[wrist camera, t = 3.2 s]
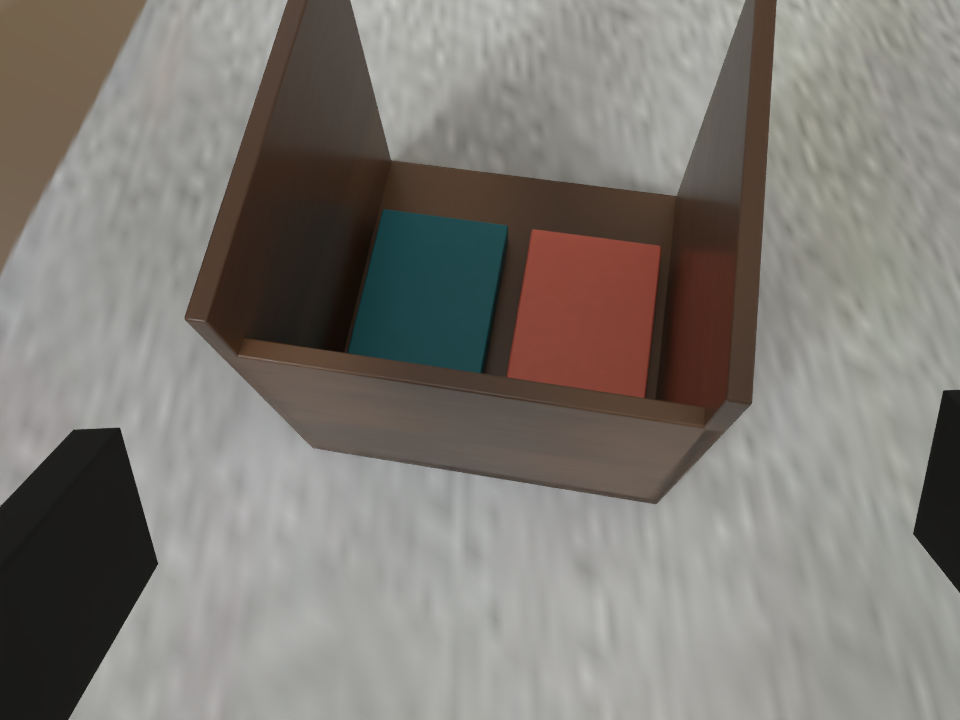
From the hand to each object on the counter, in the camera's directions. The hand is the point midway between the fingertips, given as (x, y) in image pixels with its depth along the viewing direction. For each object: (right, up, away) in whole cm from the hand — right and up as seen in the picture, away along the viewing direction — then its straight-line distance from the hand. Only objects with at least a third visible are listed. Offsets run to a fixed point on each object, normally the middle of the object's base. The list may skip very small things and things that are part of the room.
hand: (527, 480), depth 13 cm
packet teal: (-2, +4, +14) cm, 15 cm away
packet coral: (+3, +3, +14) cm, 14 cm away
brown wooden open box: (0, +4, +15) cm, 15 cm away
